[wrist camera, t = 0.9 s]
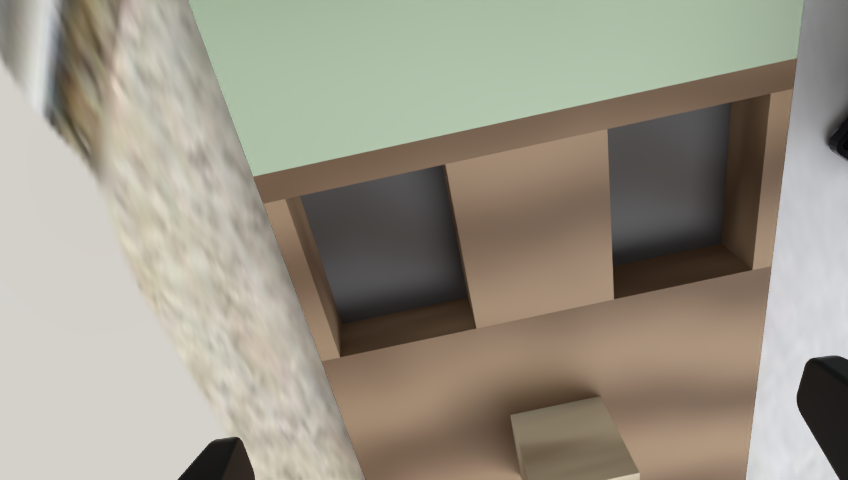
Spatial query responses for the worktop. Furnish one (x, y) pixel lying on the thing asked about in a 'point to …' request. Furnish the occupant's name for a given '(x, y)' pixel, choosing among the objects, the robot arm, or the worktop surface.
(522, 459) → the maple block
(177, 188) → the worktop surface
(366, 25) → the pad
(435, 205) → the trap board
